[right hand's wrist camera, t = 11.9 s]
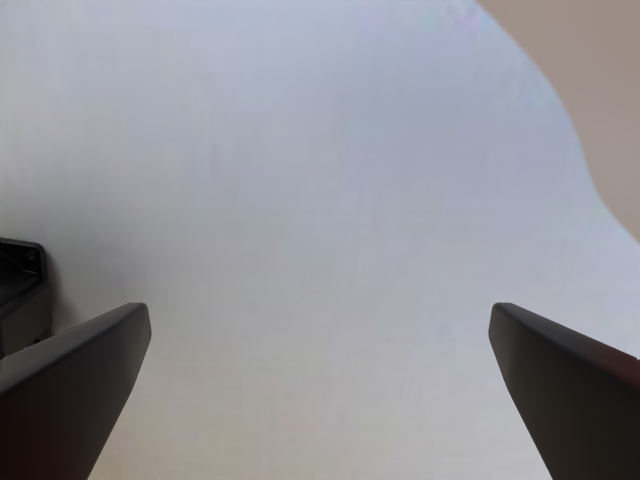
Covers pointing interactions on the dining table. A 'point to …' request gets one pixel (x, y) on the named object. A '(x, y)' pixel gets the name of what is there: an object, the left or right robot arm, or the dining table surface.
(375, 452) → the dining table surface
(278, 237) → the dining table surface
